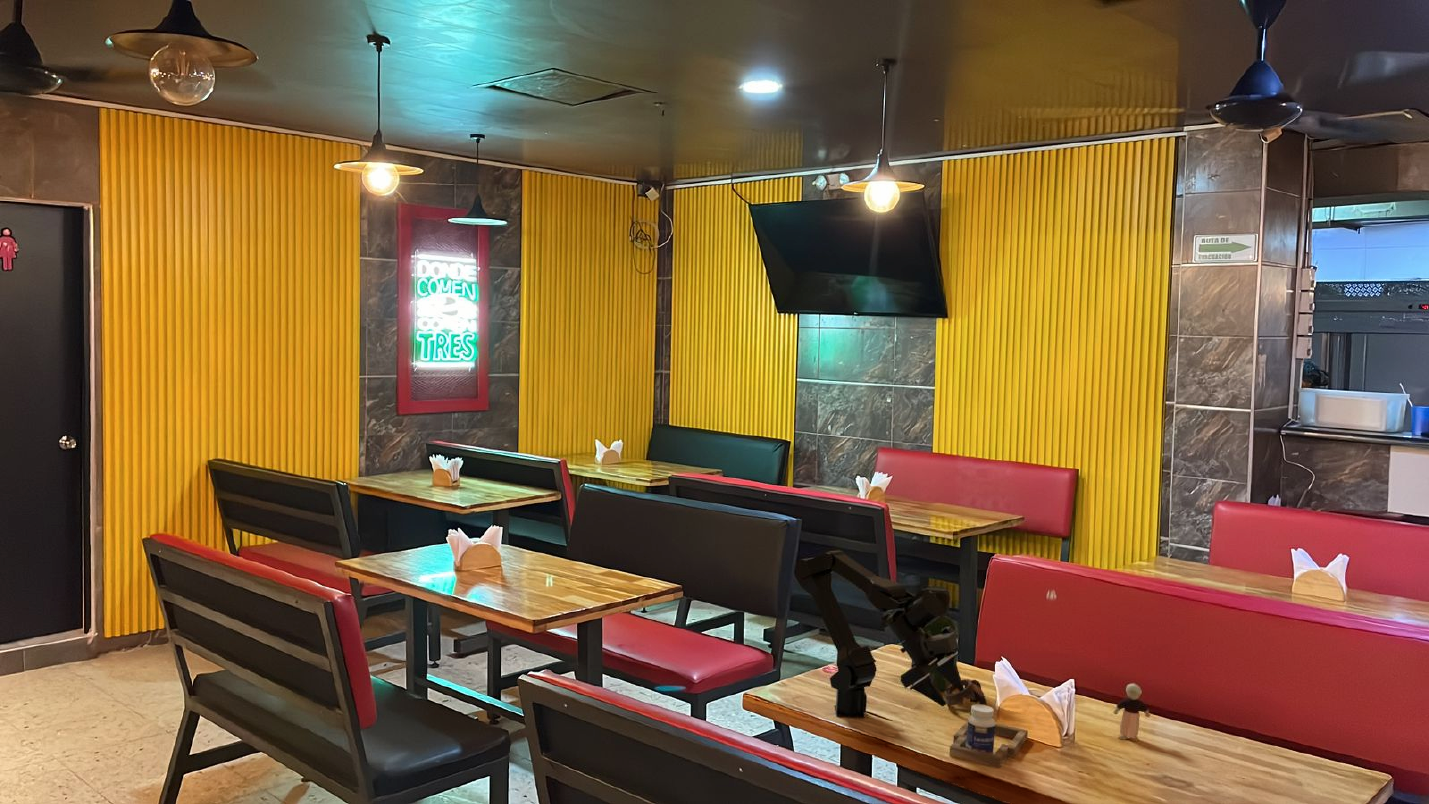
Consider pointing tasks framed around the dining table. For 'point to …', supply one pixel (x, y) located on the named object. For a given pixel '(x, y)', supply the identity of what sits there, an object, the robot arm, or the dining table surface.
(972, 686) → the dark brown banded ring
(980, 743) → the pill bottle
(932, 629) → the dark green bottle
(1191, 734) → the dining table surface
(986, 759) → the keyhole frame
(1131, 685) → the grandmother figurine
